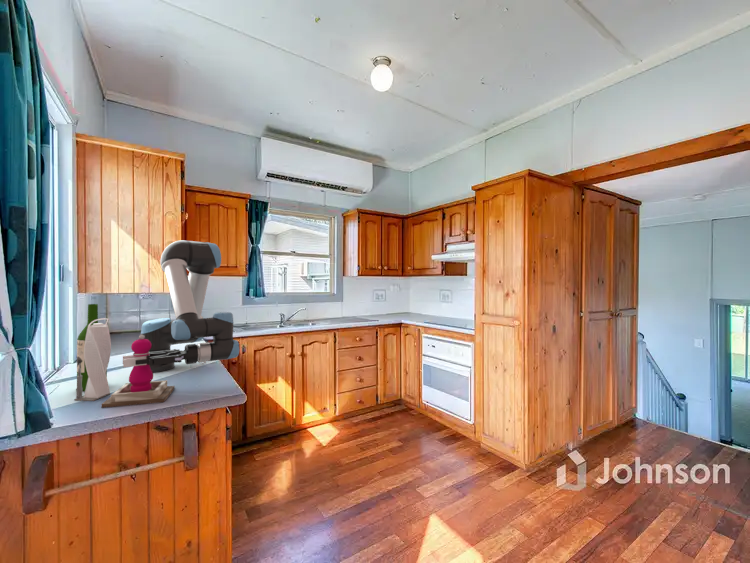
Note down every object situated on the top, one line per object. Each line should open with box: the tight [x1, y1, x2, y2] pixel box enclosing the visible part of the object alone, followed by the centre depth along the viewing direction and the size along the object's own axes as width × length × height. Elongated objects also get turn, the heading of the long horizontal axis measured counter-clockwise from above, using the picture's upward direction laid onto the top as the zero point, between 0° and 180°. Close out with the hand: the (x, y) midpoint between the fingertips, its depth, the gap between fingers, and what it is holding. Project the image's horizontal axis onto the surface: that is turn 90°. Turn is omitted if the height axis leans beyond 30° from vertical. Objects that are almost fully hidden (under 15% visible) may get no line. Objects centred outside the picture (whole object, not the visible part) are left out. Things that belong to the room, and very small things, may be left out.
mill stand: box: [101, 379, 176, 408], centre depth 121 cm, size 15×18×4 cm
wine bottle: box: [76, 303, 108, 392], centre depth 131 cm, size 9×9×32 cm
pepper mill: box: [128, 334, 154, 392], centre depth 121 cm, size 7×7×20 cm
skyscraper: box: [74, 317, 112, 402], centre depth 121 cm, size 8×8×28 cm
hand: (123, 361), depth 118 cm, fingers closed on pepper mill, 5 cm apart
